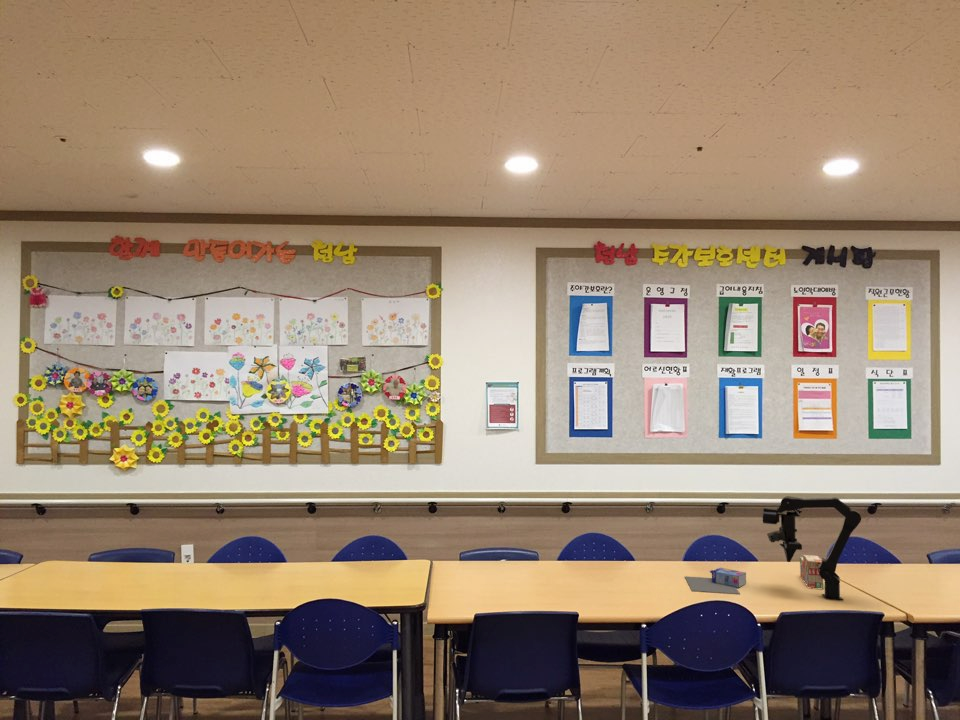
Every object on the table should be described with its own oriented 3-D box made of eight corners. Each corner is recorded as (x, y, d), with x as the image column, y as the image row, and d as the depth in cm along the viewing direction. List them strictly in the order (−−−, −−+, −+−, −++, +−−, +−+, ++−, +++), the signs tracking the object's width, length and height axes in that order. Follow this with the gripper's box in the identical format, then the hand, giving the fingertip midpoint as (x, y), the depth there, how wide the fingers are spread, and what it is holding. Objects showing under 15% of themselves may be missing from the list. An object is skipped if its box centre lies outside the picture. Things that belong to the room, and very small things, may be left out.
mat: (740, 594, 286) (740, 593, 286) (691, 591, 290) (691, 590, 290) (729, 579, 310) (729, 579, 310) (684, 576, 313) (684, 576, 313)
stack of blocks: (799, 576, 319) (799, 550, 319) (814, 577, 317) (814, 551, 318) (808, 588, 298) (807, 560, 299) (823, 589, 296) (823, 561, 297)
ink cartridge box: (738, 575, 295) (706, 570, 305) (738, 587, 295) (706, 582, 304) (746, 571, 303) (714, 566, 312) (746, 583, 302) (715, 578, 312)
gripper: (763, 521, 303) (763, 555, 302) (774, 528, 285) (774, 565, 284) (789, 522, 301) (790, 557, 301) (802, 530, 283) (802, 567, 282)
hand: (788, 561), depth 292 cm, fingers closed
